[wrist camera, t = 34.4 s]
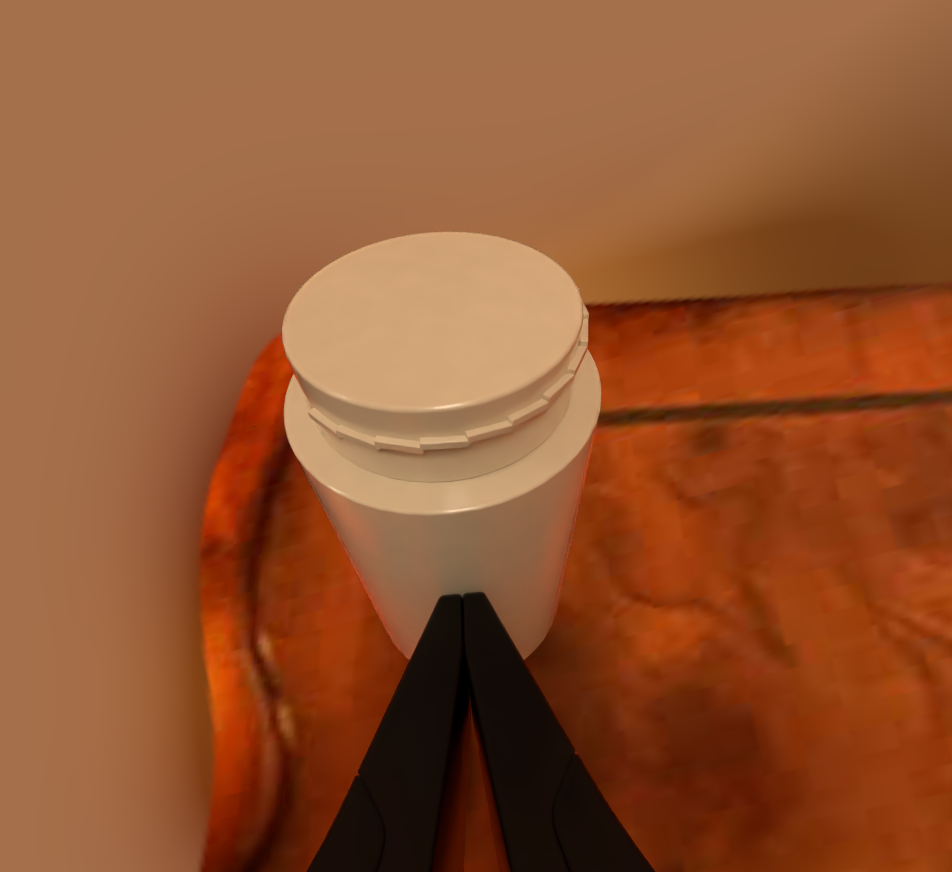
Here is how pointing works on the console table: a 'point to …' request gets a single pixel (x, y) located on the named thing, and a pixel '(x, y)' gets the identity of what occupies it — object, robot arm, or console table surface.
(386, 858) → the robot arm
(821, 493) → the console table surface
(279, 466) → the console table surface
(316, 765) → the console table surface
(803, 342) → the console table surface
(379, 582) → the jar
